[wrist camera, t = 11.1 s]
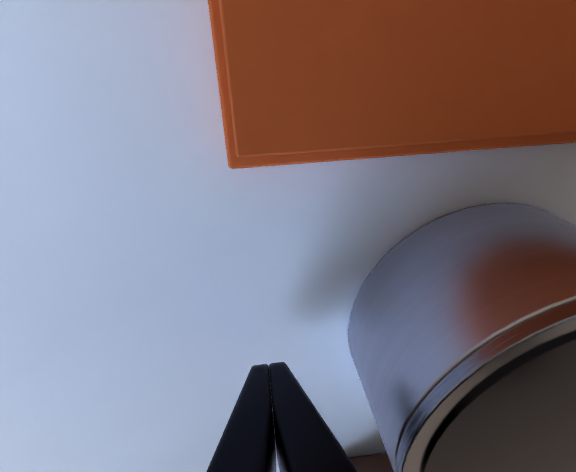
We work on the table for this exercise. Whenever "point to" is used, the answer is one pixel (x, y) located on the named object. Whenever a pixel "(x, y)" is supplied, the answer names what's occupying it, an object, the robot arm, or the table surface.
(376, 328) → the silver pot
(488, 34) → the terracotta tray
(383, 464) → the walnut block
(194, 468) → the table surface
